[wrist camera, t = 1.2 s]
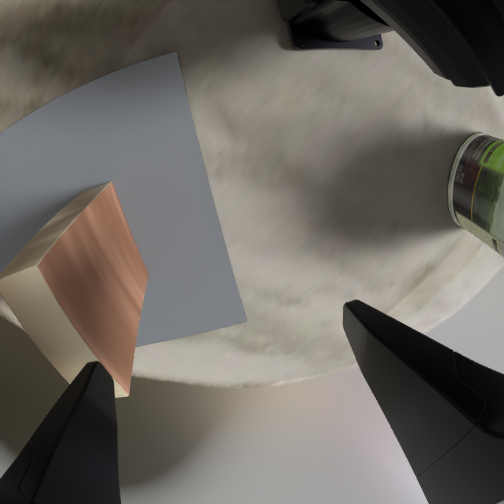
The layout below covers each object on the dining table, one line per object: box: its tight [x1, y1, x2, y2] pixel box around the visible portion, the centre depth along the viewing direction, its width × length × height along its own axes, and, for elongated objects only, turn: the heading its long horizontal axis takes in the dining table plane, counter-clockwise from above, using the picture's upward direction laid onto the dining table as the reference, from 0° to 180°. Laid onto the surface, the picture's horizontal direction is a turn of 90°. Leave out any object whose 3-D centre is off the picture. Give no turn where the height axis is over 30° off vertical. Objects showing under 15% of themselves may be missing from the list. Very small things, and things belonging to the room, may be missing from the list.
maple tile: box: [0, 181, 149, 398], centre depth 13 cm, size 2×7×10 cm, turn 12°
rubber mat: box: [0, 51, 247, 347], centre depth 17 cm, size 20×20×1 cm
